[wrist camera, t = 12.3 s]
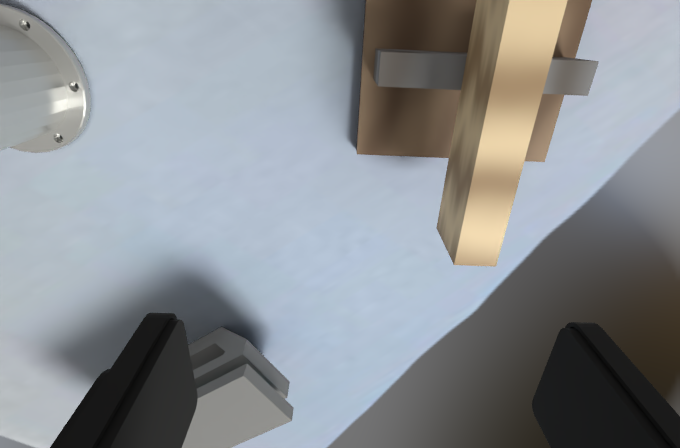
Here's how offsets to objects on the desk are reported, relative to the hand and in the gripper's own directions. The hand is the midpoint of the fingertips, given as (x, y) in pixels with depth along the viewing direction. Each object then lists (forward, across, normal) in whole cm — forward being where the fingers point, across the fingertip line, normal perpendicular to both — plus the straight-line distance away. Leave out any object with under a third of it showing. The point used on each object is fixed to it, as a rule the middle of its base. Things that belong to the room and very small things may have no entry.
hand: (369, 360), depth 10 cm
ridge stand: (+30, -10, -5) cm, 32 cm away
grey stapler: (+30, +17, +33) cm, 48 cm away
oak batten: (+23, -10, -5) cm, 26 cm away
